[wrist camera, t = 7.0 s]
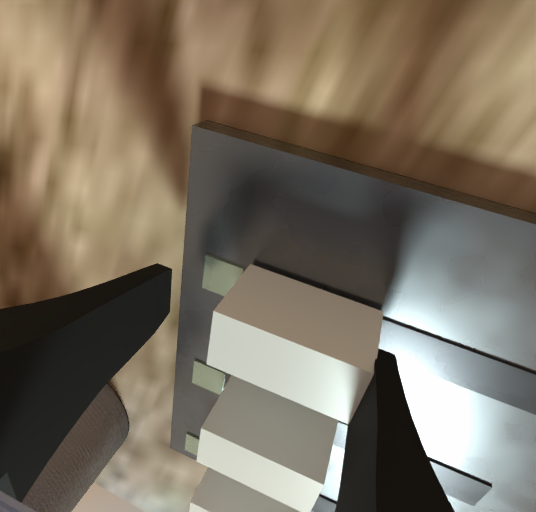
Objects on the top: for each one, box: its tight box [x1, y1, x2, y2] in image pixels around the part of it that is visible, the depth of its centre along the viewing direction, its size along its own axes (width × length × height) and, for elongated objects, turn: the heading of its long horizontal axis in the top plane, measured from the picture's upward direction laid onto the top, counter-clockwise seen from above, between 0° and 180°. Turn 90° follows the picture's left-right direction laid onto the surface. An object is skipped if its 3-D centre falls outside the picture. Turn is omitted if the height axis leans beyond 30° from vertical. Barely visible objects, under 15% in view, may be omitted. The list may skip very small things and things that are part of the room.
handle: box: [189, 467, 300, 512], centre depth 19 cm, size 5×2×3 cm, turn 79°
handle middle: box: [197, 375, 338, 512], centre depth 16 cm, size 5×2×3 cm, turn 79°
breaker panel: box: [170, 120, 536, 512], centre depth 16 cm, size 18×19×1 cm
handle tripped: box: [206, 264, 383, 425], centre depth 13 cm, size 5×2×3 cm, turn 80°
